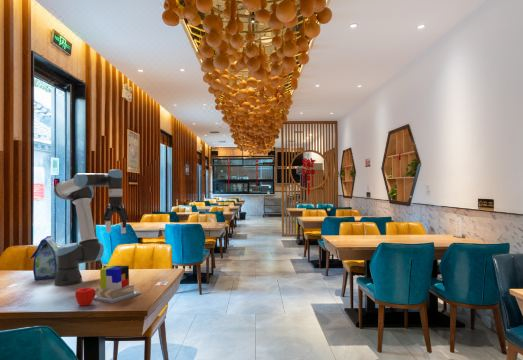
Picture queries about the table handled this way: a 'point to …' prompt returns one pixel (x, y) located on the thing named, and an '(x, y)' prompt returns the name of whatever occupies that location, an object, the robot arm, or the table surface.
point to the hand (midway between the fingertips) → (115, 232)
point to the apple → (85, 296)
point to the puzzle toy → (114, 277)
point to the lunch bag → (45, 259)
